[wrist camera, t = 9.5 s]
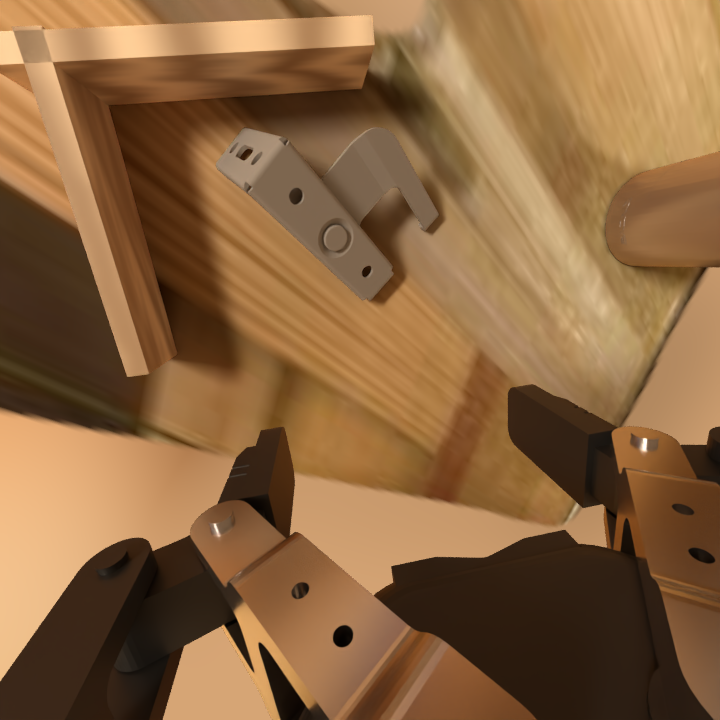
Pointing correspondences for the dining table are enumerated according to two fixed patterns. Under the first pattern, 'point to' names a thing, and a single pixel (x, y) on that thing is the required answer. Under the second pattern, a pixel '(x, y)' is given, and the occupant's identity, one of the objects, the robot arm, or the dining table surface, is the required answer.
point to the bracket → (330, 197)
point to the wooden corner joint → (158, 84)
